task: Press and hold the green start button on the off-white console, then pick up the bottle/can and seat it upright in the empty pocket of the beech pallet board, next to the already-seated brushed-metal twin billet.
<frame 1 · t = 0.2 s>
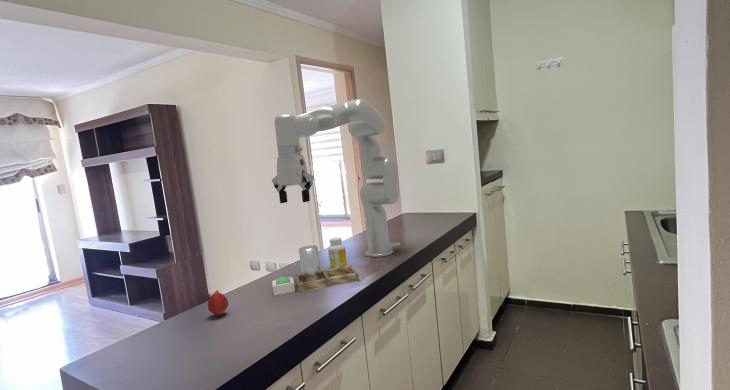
hand: (294, 202, 133), 30 cm above the table, tool pointing down, fingers open, 9 cm apart
start button: (283, 285, 133), point 3 cm above the table, slide at 1.2 cm
onion: (219, 316, 119), on the table
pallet: (327, 284, 138), on the table
seated twin billet: (312, 284, 137), resting on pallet
button console: (284, 293, 133), on the table
supplement bottle: (339, 271, 153), on the table
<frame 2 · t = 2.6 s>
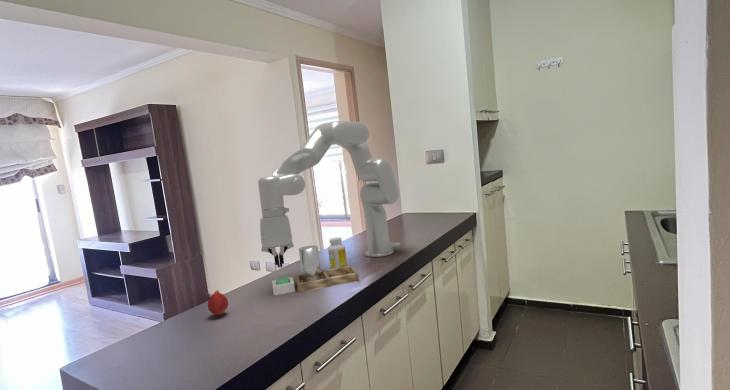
hand: (279, 266, 132), 9 cm above the table, tool pointing down, fingers closed
nothing on the table moved.
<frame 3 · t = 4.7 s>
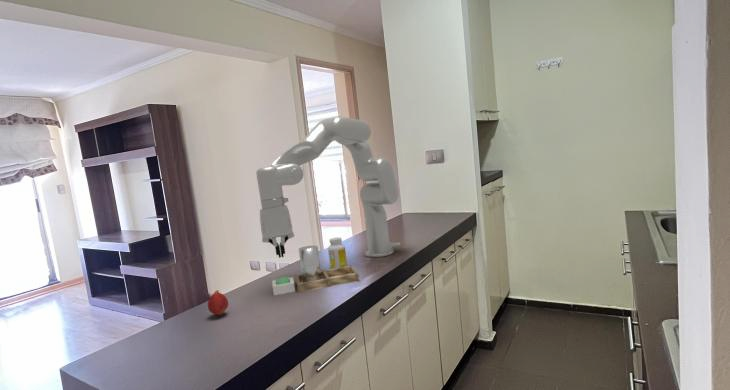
hand: (281, 256, 133), 13 cm above the table, tool pointing down, fingers closed
nothing on the table moved.
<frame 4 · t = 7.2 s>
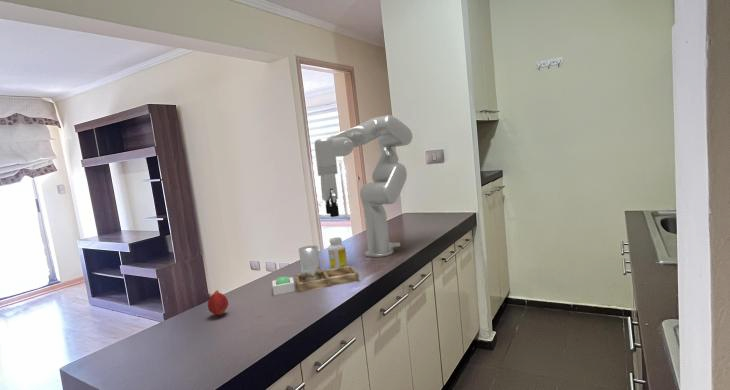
hand: (332, 214, 151), 22 cm above the table, tool pointing down, fingers open, 9 cm apart
nothing on the table moved.
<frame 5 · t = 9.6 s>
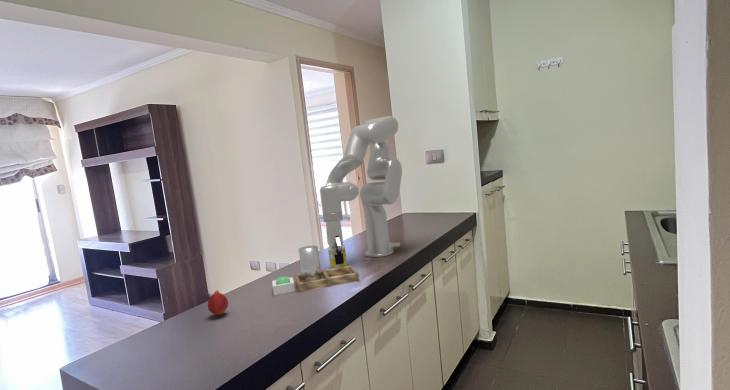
hand: (338, 261, 153), 4 cm above the table, tool pointing down, fingers closed on supplement bottle, 6 cm apart
supplement bottle: (339, 271, 153), on the table, touching gripper
everything else where it was.
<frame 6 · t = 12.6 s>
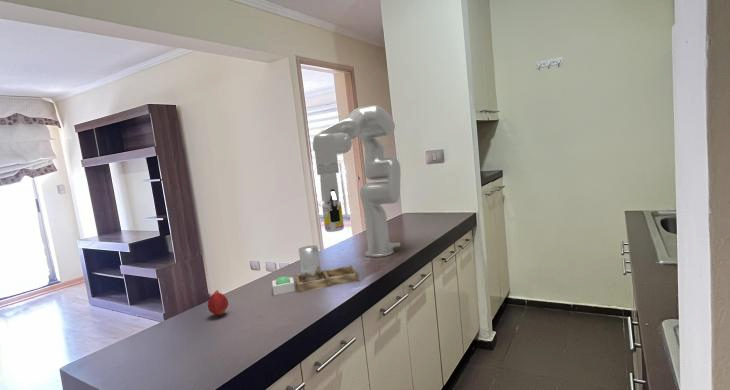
hand: (333, 219, 137), 22 cm above the table, tool pointing down, fingers closed on supplement bottle, 6 cm apart
supplement bottle: (334, 230, 137), point 19 cm above the table, touching gripper
everything else where it was.
when the fingers open (6 cm above the table, at t = 16.0 s): supplement bottle drops 1 cm, resting on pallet.
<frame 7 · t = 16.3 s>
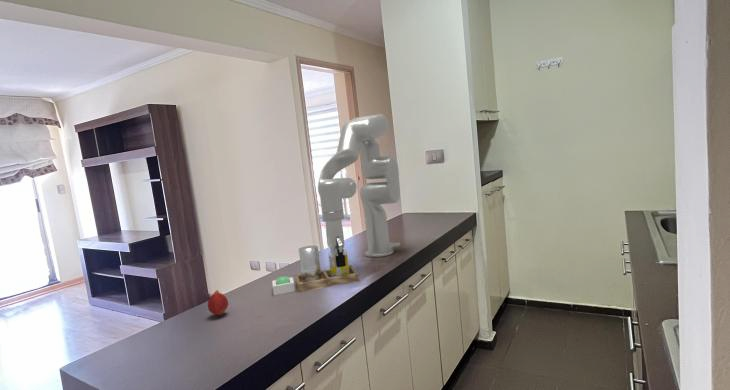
hand: (338, 263, 138), 7 cm above the table, tool pointing down, fingers open, 9 cm apart
supplement bottle: (340, 279, 139), point 1 cm above the table, touching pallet
everything else where it was.
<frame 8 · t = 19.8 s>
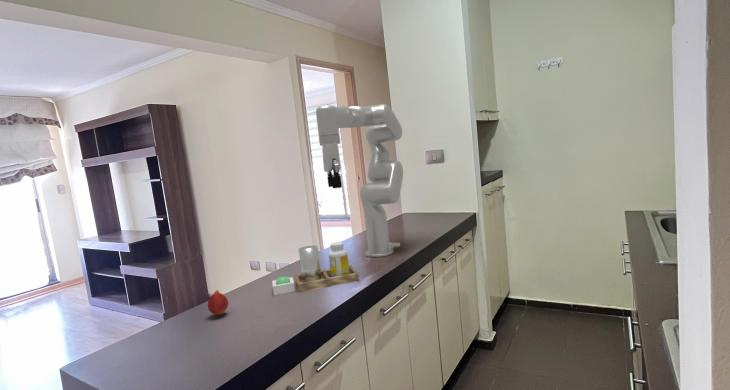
hand: (335, 187, 143), 33 cm above the table, tool pointing down, fingers open, 9 cm apart
nothing on the table moved.
at the end: supplement bottle 0.2 cm from the target spot on the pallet, point 0.8 cm above the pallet's base; supplement bottle tilted 0° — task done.
